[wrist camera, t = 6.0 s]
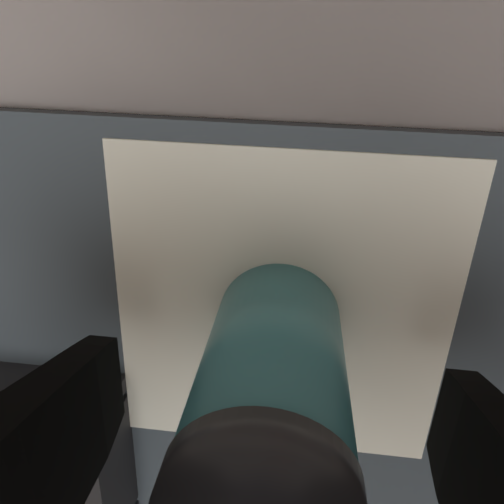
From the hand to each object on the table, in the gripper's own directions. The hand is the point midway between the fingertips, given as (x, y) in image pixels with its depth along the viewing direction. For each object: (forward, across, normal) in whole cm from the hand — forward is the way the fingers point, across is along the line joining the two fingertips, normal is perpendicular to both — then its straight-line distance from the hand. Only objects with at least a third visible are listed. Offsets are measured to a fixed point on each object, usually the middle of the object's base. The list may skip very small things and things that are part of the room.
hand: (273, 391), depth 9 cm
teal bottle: (+3, 0, 0) cm, 3 cm away
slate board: (+4, +1, +2) cm, 4 cm away
